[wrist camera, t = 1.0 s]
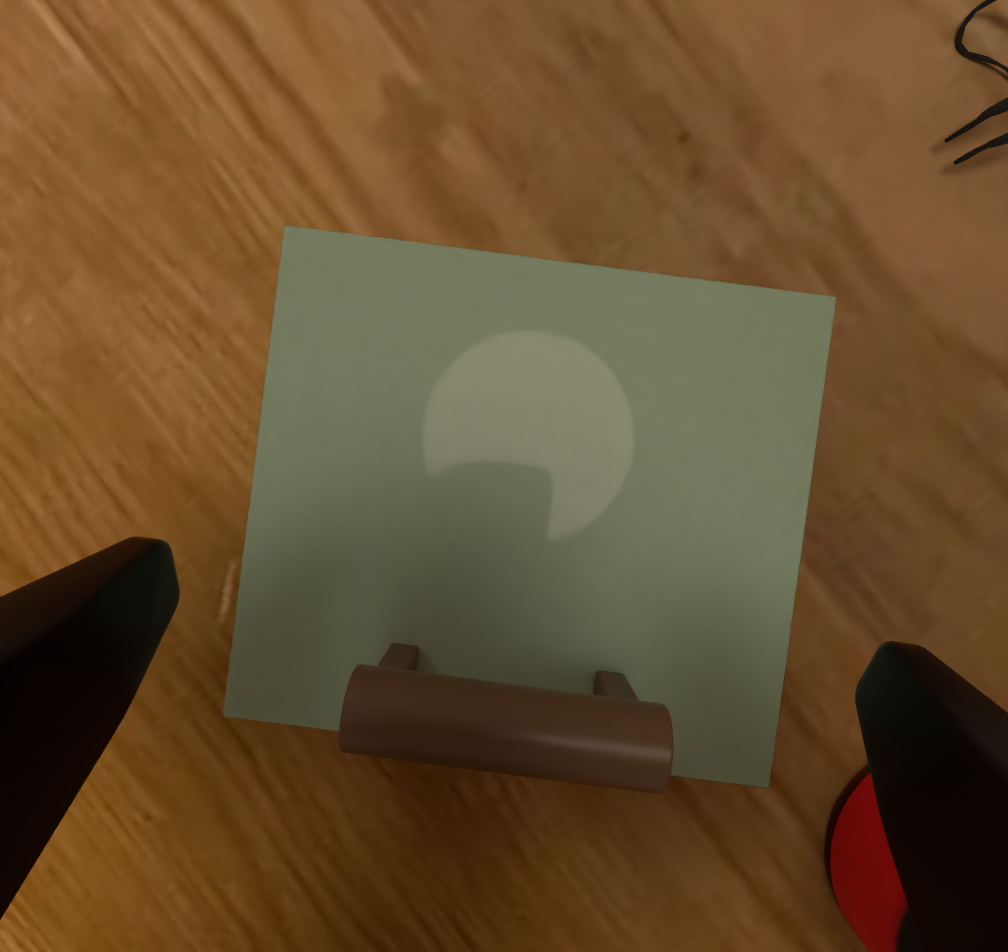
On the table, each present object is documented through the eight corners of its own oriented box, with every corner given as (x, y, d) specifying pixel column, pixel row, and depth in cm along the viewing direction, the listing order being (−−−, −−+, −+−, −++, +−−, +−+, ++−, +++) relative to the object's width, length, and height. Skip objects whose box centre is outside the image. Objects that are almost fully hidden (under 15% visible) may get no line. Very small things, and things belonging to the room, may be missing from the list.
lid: (758, 775, 17) (864, 904, 12) (234, 706, 17) (119, 806, 12) (823, 303, 16) (958, 233, 11) (293, 234, 16) (202, 135, 12)
